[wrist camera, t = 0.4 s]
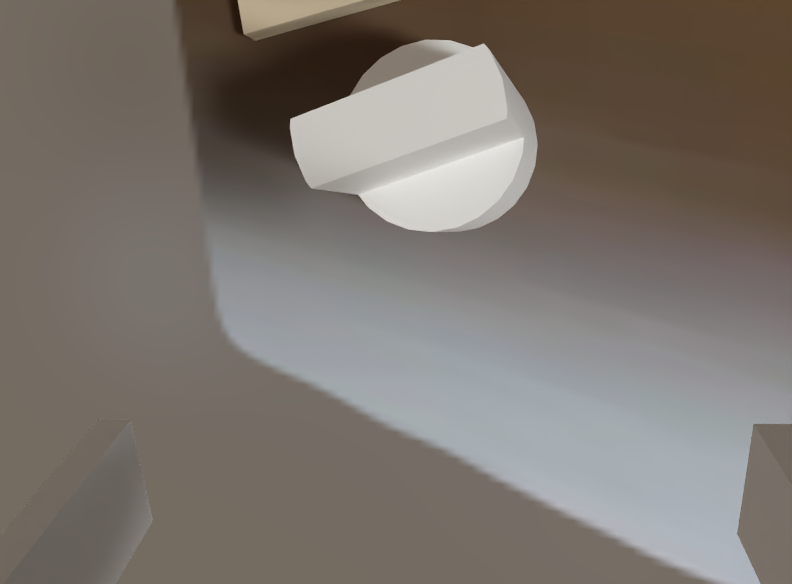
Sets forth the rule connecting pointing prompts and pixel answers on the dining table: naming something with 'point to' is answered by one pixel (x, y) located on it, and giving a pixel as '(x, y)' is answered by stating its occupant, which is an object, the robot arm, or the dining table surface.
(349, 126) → the base with upright slab
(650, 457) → the dining table surface
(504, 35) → the dining table surface
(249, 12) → the pine board
